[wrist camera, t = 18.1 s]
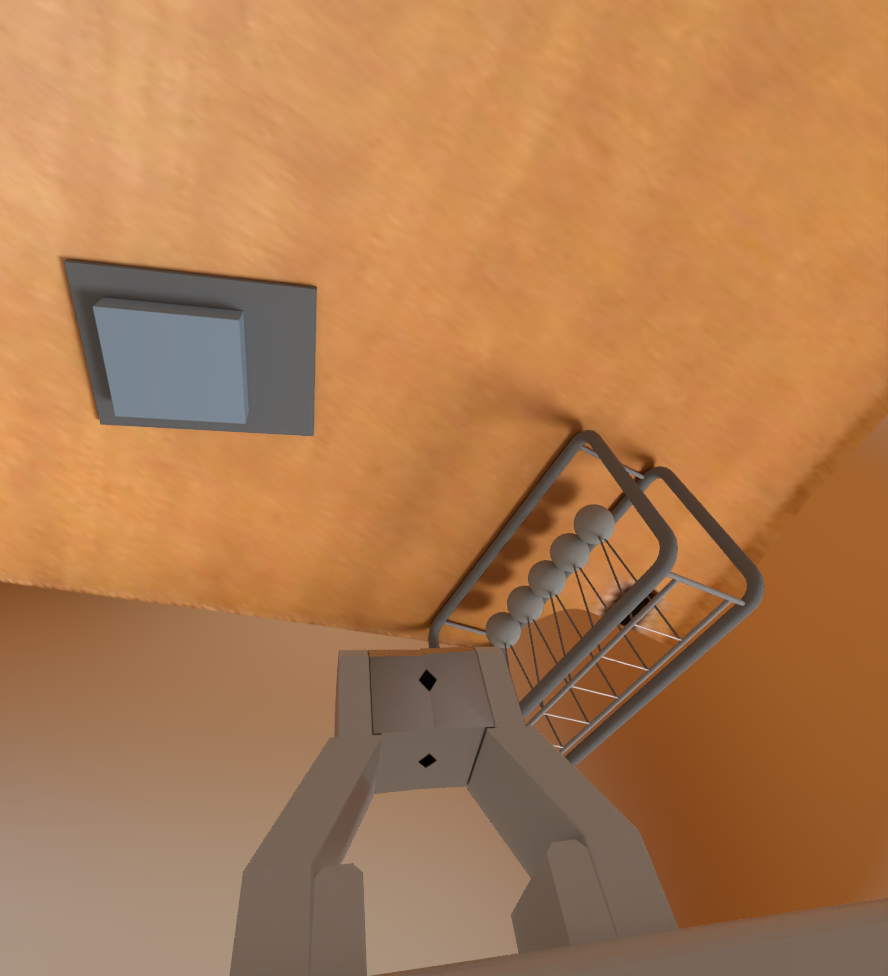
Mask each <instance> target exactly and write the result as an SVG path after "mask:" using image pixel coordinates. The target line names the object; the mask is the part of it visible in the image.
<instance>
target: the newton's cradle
mask: <svg viewBox="0 0 888 976" xmlns="http://www.w3.org/2000/svg"><path fill="white" fill-rule="evenodd" d="M586 443H589V444H590V445H591V447H592V448H593V450H594V451H595V452H594V451H592V450H590V449H588V448H586V447H584V446H583V445H584V444H586ZM579 449H580V450H582V451H584V452H586V453H588V454H590V455H593V456H595V457H597V458H599V459H601V461H602V462H603V464H604V465H605V466H606V468H607V469H608V471H609V472H610V473H611V475H612V476H613V477H614V479H615V480H616V482H617V483H618V484H619V486H620V487H621V489H622V490H623V491H624V493H625V494H626V495H625V496H624V497H623V498H622V499H621V501H620V502H619V503H618V504H617V505H616V506H615V508H614V509H613V510H612V511H611V512H610V511H609V510H608V509H606V508H605V507H603V506H600V505H595V504H594V505H587V506H585V507H583V508H582V509H580V510H579V511H578V513H577V514H576V516H575V519H574V529H575V532H576V534H577V535H576V534H572V533H566V534H562V535H560V536H558V537H557V538H556V539H555V540H554V542H553V543H552V545H551V549H550V556H551V559H552V561H548V560H544V561H540V562H538V563H536V564H535V565H534V566H533V567H532V568H531V569H530V571H529V574H528V583H529V586H520V587H517V588H515V589H514V590H513V591H512V592H511V593H510V595H509V597H508V600H507V607H508V610H509V613H510V614H509V613H506V612H499V613H496V614H494V615H493V616H491V617H490V618H489V620H488V621H487V624H486V632H484V631H481V630H477V629H473V628H470V627H466V626H463V625H459V624H455V623H452V622H448V621H446V620H447V619H448V617H449V616H450V615H451V613H452V612H453V611H454V610H455V608H456V607H457V606H458V604H459V603H460V602H461V601H462V599H463V598H464V597H465V595H466V594H467V593H468V592H469V590H470V589H471V588H472V586H473V585H474V584H475V583H476V581H477V580H478V579H479V577H480V576H481V575H482V574H483V572H484V571H485V570H486V568H487V567H488V566H489V565H490V563H491V562H492V561H493V559H494V558H495V557H496V556H497V554H498V553H499V552H500V550H501V549H502V548H503V547H504V545H505V544H506V543H507V541H508V540H509V539H510V538H511V536H512V535H513V534H514V533H515V531H516V530H517V529H518V527H519V526H520V525H521V524H522V522H523V521H524V520H525V518H526V517H527V516H528V515H529V513H530V512H531V511H532V509H533V508H534V507H535V506H536V504H537V503H538V502H539V500H540V499H541V498H542V497H543V495H544V494H545V493H546V491H547V490H548V489H549V488H550V486H551V485H552V484H553V482H554V481H555V480H556V479H557V477H558V476H559V475H560V473H561V472H562V471H563V470H564V468H565V467H566V466H567V464H568V463H569V462H570V461H571V459H572V458H573V457H574V455H575V454H576V453H577V452H578V450H579ZM629 473H630V474H632V475H634V476H636V477H638V478H640V479H639V480H638V481H637V482H635V481H634V480H633V478H632V477H631V476H630V475H629ZM658 478H662V479H663V480H664V481H665V483H666V484H667V485H668V486H669V487H670V489H671V490H672V491H673V492H674V493H675V495H676V496H677V497H678V498H679V499H680V500H681V502H682V503H683V504H684V505H685V506H686V508H687V509H688V510H689V511H690V512H691V514H692V515H693V516H694V517H695V518H696V520H697V521H698V522H699V523H700V524H701V525H702V527H703V528H704V529H705V530H706V531H707V533H708V534H709V535H710V536H711V537H712V539H713V540H714V541H715V542H716V543H717V545H718V546H719V547H720V548H721V549H722V550H723V552H724V553H725V554H726V555H727V556H728V558H729V559H730V560H731V561H732V562H733V564H734V565H735V566H736V567H737V568H738V569H739V571H740V572H741V573H742V574H743V575H744V577H745V579H746V582H747V590H746V593H745V595H744V596H743V597H742V599H738V598H736V597H733V596H730V595H728V594H725V593H723V592H720V591H718V590H715V589H713V588H710V587H708V586H705V585H703V584H700V583H698V582H695V581H693V580H690V579H687V578H685V577H682V576H680V575H677V574H675V573H672V572H670V571H671V570H672V568H673V566H674V564H675V561H676V559H677V552H678V546H677V539H676V537H675V535H674V533H673V531H672V530H671V528H670V527H669V526H668V524H667V523H666V522H665V520H664V519H663V518H662V516H661V515H660V514H659V513H658V511H657V510H656V509H655V507H654V506H653V505H652V503H651V502H650V501H649V499H648V498H647V497H646V495H645V494H644V493H643V492H644V491H645V490H646V488H647V487H648V486H649V485H650V484H651V483H652V482H653V481H654V480H656V479H658ZM632 504H633V505H634V507H635V508H636V510H637V511H638V512H639V514H640V515H641V517H642V518H643V519H644V521H645V522H646V524H647V525H648V526H649V528H650V529H651V531H652V532H653V533H654V535H655V536H656V538H657V539H658V541H659V544H660V551H659V555H658V558H657V560H656V561H655V563H654V564H653V565H652V566H651V567H650V568H649V569H648V570H647V571H646V573H645V574H644V575H643V576H642V577H641V578H640V579H639V580H638V581H637V580H636V578H635V577H634V576H633V574H632V573H631V572H630V570H629V569H628V568H627V566H626V565H625V564H624V562H623V561H622V560H621V558H620V557H619V556H618V554H617V553H616V552H615V550H614V549H613V548H612V546H611V545H610V544H609V542H608V541H607V540H608V539H609V538H610V537H611V535H612V534H613V532H614V528H615V524H616V522H617V521H618V520H619V519H620V518H621V517H622V516H623V514H624V513H625V512H626V511H627V510H628V509H629V508H630V507H631V505H632ZM605 541H606V543H607V544H608V545H609V547H610V548H611V549H612V551H613V552H614V553H615V555H616V556H617V557H618V559H619V560H620V561H621V563H622V564H623V565H624V567H625V568H626V569H627V571H628V572H629V573H630V575H631V576H632V577H633V579H634V580H635V582H636V583H635V584H634V585H633V586H632V587H631V588H630V589H629V590H628V591H627V592H626V593H625V594H624V595H623V592H622V590H621V587H620V585H619V582H618V580H617V577H616V575H615V572H614V570H613V567H612V565H611V562H610V560H609V557H608V555H607V553H606V550H605V548H604V545H603V542H605ZM600 543H601V545H602V547H603V550H604V552H605V555H606V557H607V560H608V562H609V565H610V568H611V570H612V573H613V575H614V578H615V580H616V583H617V585H618V588H619V590H620V593H621V595H622V597H621V598H620V599H619V600H618V601H617V602H616V603H615V604H614V605H613V607H612V608H611V609H610V610H608V608H607V607H606V605H605V604H604V602H603V601H602V599H601V598H600V596H599V594H598V593H597V591H596V590H595V588H594V587H593V585H592V584H591V582H590V581H589V579H588V578H587V576H586V575H585V573H584V572H583V570H582V569H581V568H583V567H584V566H585V565H586V563H587V562H588V559H589V553H590V552H591V551H592V550H593V548H594V547H595V546H596V545H597V544H600ZM578 570H581V572H582V573H583V575H584V577H585V578H586V580H587V581H588V583H589V584H590V586H591V587H592V589H593V590H594V592H595V593H596V595H597V596H598V598H599V599H600V601H601V602H602V604H603V605H604V607H605V608H606V610H607V611H608V612H607V613H606V614H605V615H604V616H603V617H602V618H601V619H600V620H599V621H598V622H597V623H596V624H595V625H594V626H593V623H592V619H591V616H590V613H589V610H588V607H587V603H586V600H585V597H584V594H583V591H582V587H581V584H580V581H579V578H578V575H577V571H578ZM574 571H575V574H576V577H577V580H578V584H579V587H580V590H581V593H582V597H583V600H584V603H585V606H586V610H587V613H588V616H589V619H590V622H591V626H592V628H591V629H590V630H589V631H588V632H587V633H586V634H585V635H584V637H582V636H581V635H580V633H579V631H578V629H577V628H576V626H575V624H574V623H573V621H572V619H571V618H570V616H569V615H568V613H567V611H566V609H565V607H564V606H563V604H562V602H561V601H560V599H559V597H558V596H557V595H558V594H560V593H561V592H562V590H563V589H564V587H565V583H566V579H567V578H568V577H569V576H570V574H571V573H572V572H574ZM666 576H667V577H669V578H672V580H671V581H670V582H669V583H668V584H667V585H666V586H665V587H664V588H663V589H662V590H661V591H660V592H659V593H658V594H657V595H656V596H655V597H654V598H653V599H652V600H651V598H650V597H649V596H648V594H649V593H650V592H651V591H652V590H653V589H654V588H655V587H656V586H657V585H658V584H659V583H660V582H661V581H662V580H663V579H664V578H665V577H666ZM679 581H680V582H682V583H685V584H687V585H690V586H693V587H695V588H698V589H700V590H703V591H705V592H708V593H711V594H713V595H716V596H718V597H721V598H723V599H725V600H724V601H723V602H722V603H721V604H720V605H719V606H718V607H716V608H715V609H714V610H713V611H712V612H711V613H710V614H709V615H708V616H707V617H705V618H704V619H703V620H702V621H701V622H700V623H699V624H698V625H697V626H696V627H694V628H693V629H692V630H691V631H690V632H689V633H688V634H687V635H686V636H685V637H683V638H682V639H681V638H680V637H679V636H678V635H677V633H676V632H675V631H674V629H673V628H672V626H671V625H670V624H669V622H668V621H667V620H666V618H665V617H664V616H663V614H662V613H661V612H660V610H659V609H658V608H657V606H656V604H657V603H658V602H659V601H660V600H661V599H662V598H663V597H664V596H665V595H666V594H667V593H668V592H669V591H670V590H671V589H672V588H673V587H674V586H675V585H676V584H677V583H678V582H679ZM763 595H764V581H763V577H762V574H761V573H760V571H759V570H758V568H757V567H756V566H755V564H754V563H753V562H752V561H751V560H750V559H749V558H748V557H747V555H746V554H745V553H744V552H743V551H742V550H741V549H740V548H739V546H738V545H737V544H736V543H735V542H734V541H733V540H732V538H731V537H730V536H729V535H728V534H727V533H726V532H725V531H724V529H723V528H722V527H721V526H720V525H719V524H718V523H717V521H716V520H715V519H714V518H713V517H712V516H711V515H710V514H709V512H708V511H707V510H706V509H705V508H704V507H703V506H702V505H701V503H700V502H699V501H698V500H697V499H696V498H695V497H694V495H693V494H692V493H691V492H690V491H689V490H688V489H687V488H686V486H685V485H684V484H683V483H682V482H681V481H680V480H679V478H678V477H677V476H676V475H675V474H674V473H673V472H672V471H671V470H670V469H668V468H666V467H661V466H660V467H654V468H652V469H650V470H648V471H647V472H646V473H644V474H643V475H642V474H640V473H637V472H635V471H633V470H631V469H629V468H627V467H625V466H623V465H622V464H621V463H620V461H619V460H618V459H617V458H616V456H615V455H614V454H613V452H612V451H611V450H610V448H609V447H608V446H607V444H606V443H605V442H604V440H603V439H602V438H601V437H600V435H599V434H597V433H596V432H595V431H591V430H585V431H582V432H580V433H578V434H577V435H576V436H574V437H573V438H572V440H571V441H570V442H569V443H568V444H567V446H566V447H565V448H564V450H563V451H562V452H561V454H560V455H559V456H558V458H557V459H556V460H555V462H554V463H553V464H552V465H551V467H550V468H549V469H548V471H547V472H546V473H545V475H544V476H543V477H542V479H541V480H540V481H539V483H538V484H537V485H536V486H535V488H534V489H533V490H532V492H531V493H530V494H529V496H528V497H527V498H526V500H525V501H524V502H523V503H522V505H521V506H520V507H519V509H518V510H517V511H516V513H515V514H514V515H513V517H512V518H511V519H510V521H509V522H508V523H507V524H506V526H505V527H504V528H503V530H502V531H501V532H500V534H499V535H498V536H497V538H496V539H495V540H494V542H493V543H492V544H491V545H490V547H489V548H488V549H487V551H486V552H485V553H484V555H483V556H482V557H481V559H480V560H479V561H478V563H477V564H476V565H475V566H474V568H473V569H472V570H471V572H470V573H469V574H468V576H467V577H466V578H465V580H464V581H463V582H462V583H461V585H460V586H459V587H458V589H457V590H456V591H455V593H454V594H453V595H452V597H451V598H450V599H449V601H448V602H447V603H446V604H445V606H444V607H443V608H442V610H441V611H440V612H439V614H438V615H437V616H436V618H435V619H434V621H433V623H432V625H431V627H430V631H429V638H428V641H429V648H440V647H439V640H438V638H439V632H440V629H441V627H442V625H443V624H446V625H449V626H453V627H457V628H460V629H464V630H468V631H471V632H475V633H478V634H482V635H486V636H487V638H488V640H489V641H490V642H491V643H492V644H493V645H494V646H498V647H500V648H501V649H502V651H503V653H504V656H505V659H506V663H507V666H508V669H509V663H508V656H507V648H509V647H511V649H512V651H513V653H514V655H515V656H516V653H515V651H514V649H513V647H512V645H514V644H515V643H516V642H517V641H518V639H519V637H520V633H521V630H522V629H523V628H524V627H525V625H526V624H527V623H528V626H529V633H530V639H531V644H532V651H533V656H534V662H535V668H536V674H537V680H538V684H537V685H536V686H535V687H534V688H533V687H532V685H531V683H530V681H529V679H528V677H527V675H526V673H525V671H524V669H523V667H522V665H521V663H520V661H519V659H518V658H517V656H516V659H517V661H518V662H519V664H520V666H521V668H522V670H523V672H524V674H525V676H526V678H527V680H528V682H529V684H530V686H531V688H532V690H531V691H530V692H529V693H528V694H527V695H526V696H525V697H524V698H523V699H522V700H521V701H520V702H519V701H518V703H519V706H520V709H521V713H522V716H523V719H524V718H525V717H526V716H527V715H528V714H529V713H530V712H531V711H532V710H533V709H534V708H535V707H536V706H537V705H538V704H540V706H541V708H542V709H541V710H540V711H539V712H538V713H537V714H536V715H535V716H534V717H533V718H532V719H531V720H530V721H529V722H528V723H527V724H525V726H532V725H533V724H534V723H535V722H536V721H537V720H538V719H539V718H540V717H541V716H542V715H543V714H545V716H546V718H547V720H548V722H549V724H550V726H551V728H552V730H553V732H554V734H555V735H556V738H557V740H558V742H559V744H560V746H555V745H553V746H555V747H561V749H560V750H559V752H560V753H561V754H563V753H564V752H565V751H566V750H568V749H569V748H570V747H571V746H572V745H573V744H574V743H575V742H576V741H578V740H579V739H580V738H581V737H582V736H583V735H584V734H585V733H586V732H588V731H589V730H590V729H591V728H592V727H593V726H594V725H595V724H596V723H598V722H599V721H600V720H601V719H602V718H603V717H604V716H605V715H606V714H608V713H609V712H610V711H611V710H612V709H613V708H614V707H615V706H616V705H617V704H619V703H620V702H621V701H622V700H623V699H624V698H625V697H626V696H628V695H629V694H630V693H631V692H632V691H633V690H634V689H635V688H636V687H638V686H639V685H640V684H641V683H642V682H643V681H644V680H645V679H646V678H648V677H649V676H650V675H651V674H652V673H653V672H654V671H655V670H656V669H658V668H659V666H661V665H662V664H663V663H664V662H665V661H666V660H668V659H669V658H670V657H671V656H672V655H673V654H674V653H675V652H676V651H678V650H679V649H680V648H681V647H682V646H683V645H684V644H685V643H686V642H688V641H689V640H690V639H691V638H692V637H693V636H694V635H695V634H696V633H698V632H699V631H700V630H701V629H702V628H703V627H704V626H705V625H706V624H708V623H709V622H710V621H711V620H712V619H713V618H714V617H715V616H716V615H718V614H719V613H720V612H721V611H722V610H723V609H724V608H725V607H726V606H727V605H729V604H730V603H731V602H734V603H736V604H735V605H734V606H733V607H732V608H731V609H729V610H728V611H727V612H726V613H725V614H724V615H723V616H722V617H721V618H719V619H718V620H717V621H716V622H715V623H714V624H713V625H712V626H710V628H708V629H707V630H706V631H705V632H704V633H703V634H701V635H700V636H699V637H698V638H697V639H696V640H695V641H694V642H693V643H691V644H690V645H689V646H688V647H687V648H686V649H685V650H684V651H683V652H681V653H680V654H679V655H678V656H677V657H676V658H675V659H674V660H672V661H671V662H670V663H669V664H668V665H667V666H666V667H665V668H664V669H662V670H661V671H660V672H659V673H658V674H657V675H656V676H655V677H653V678H652V679H651V680H650V681H649V682H648V683H647V684H646V685H644V686H643V687H642V688H641V689H640V690H639V691H638V692H637V693H635V694H634V695H633V696H632V697H631V698H630V699H629V700H628V701H627V702H625V703H624V704H623V705H622V706H621V707H620V708H619V709H618V710H616V711H615V712H614V713H613V714H612V715H611V716H610V717H609V718H608V719H606V720H605V721H604V722H603V723H602V724H601V725H600V726H599V727H597V728H596V729H595V730H594V731H593V732H592V733H591V734H590V735H588V736H587V737H586V738H585V739H584V740H583V741H582V742H581V743H580V744H578V745H577V746H576V747H575V748H574V749H573V750H572V751H571V752H569V753H568V754H567V755H566V756H565V758H566V759H567V760H568V761H569V762H570V763H571V764H572V765H573V766H576V765H577V764H578V763H579V762H580V761H581V760H582V759H584V758H585V757H586V756H587V755H588V754H589V753H590V752H592V751H593V750H594V749H595V748H596V747H597V746H599V745H600V744H601V743H602V742H603V741H604V740H606V739H607V738H608V737H609V736H610V735H611V734H612V733H614V732H615V731H616V730H617V729H618V728H619V727H620V726H622V725H623V724H624V723H625V722H626V721H627V720H629V719H630V718H631V717H632V716H633V715H634V714H635V713H637V712H638V711H639V710H640V709H641V708H642V707H643V706H645V705H646V704H647V703H648V702H649V701H650V700H652V699H653V698H654V697H655V696H656V695H657V694H658V693H660V692H661V691H662V690H663V689H664V688H665V687H666V686H668V685H669V684H670V683H671V682H672V681H673V680H675V679H676V678H677V677H678V676H679V675H680V674H681V673H682V672H684V671H685V670H686V669H687V668H688V667H689V666H691V665H692V664H693V663H694V662H695V661H696V660H698V659H699V658H700V657H701V656H702V655H703V654H704V653H706V652H707V651H708V650H709V649H710V648H711V647H712V646H714V645H715V644H716V643H717V642H718V641H719V640H721V639H722V638H723V637H724V636H725V635H726V634H727V633H729V632H730V631H731V630H732V629H733V628H734V627H736V625H738V624H739V623H740V622H741V621H742V620H744V619H745V618H746V617H747V616H748V615H749V614H750V613H752V612H753V611H754V610H755V608H756V607H757V606H758V605H759V604H760V602H761V599H762V597H763ZM555 596H556V597H557V599H558V601H559V602H560V604H561V606H562V607H563V609H564V611H565V612H566V614H567V616H568V617H569V619H570V621H571V622H572V624H573V626H574V628H575V629H576V631H577V633H578V634H579V636H580V638H581V639H580V641H579V642H578V643H577V644H576V645H575V646H574V647H573V648H572V649H571V650H570V651H569V652H568V653H567V654H566V655H565V651H564V646H563V642H562V638H561V633H560V629H559V625H558V621H557V616H556V612H555V608H554V604H553V599H552V597H555ZM646 596H647V598H648V599H649V600H650V602H649V603H648V604H647V605H646V606H645V607H644V608H643V609H642V610H641V611H640V612H639V613H638V614H637V615H636V616H635V617H634V618H633V617H632V614H631V611H632V610H633V609H634V608H635V607H636V606H637V605H638V604H639V603H640V602H641V601H642V600H643V599H644V598H645V597H646ZM549 598H551V602H552V607H553V611H554V615H555V620H556V624H557V628H558V633H559V636H560V641H561V645H562V650H563V654H564V657H563V658H562V659H561V660H560V661H559V662H558V663H557V661H556V659H555V657H554V656H553V654H552V652H551V650H550V648H549V646H548V645H547V642H546V641H545V639H544V637H543V635H542V633H541V631H540V629H539V628H538V626H537V624H536V622H535V620H536V619H537V618H538V617H539V616H540V615H541V613H542V611H543V607H544V604H545V603H546V602H547V600H548V599H549ZM652 607H655V608H656V610H657V611H658V612H659V614H660V615H661V616H662V618H663V619H664V620H665V622H666V623H667V625H668V626H669V627H670V629H671V630H672V631H673V633H674V634H675V635H676V637H677V638H675V637H672V636H669V635H666V634H663V633H660V632H657V631H654V630H651V629H648V628H645V627H642V626H639V625H636V623H637V622H638V621H639V620H640V619H641V618H642V617H643V616H644V615H645V614H646V613H647V612H648V611H649V610H650V609H651V608H652ZM628 614H629V615H630V618H631V621H630V622H629V623H628V624H627V625H626V626H625V627H624V628H623V629H621V628H620V626H619V625H618V624H619V623H620V622H621V621H622V620H623V619H624V618H625V617H626V616H627V615H628ZM532 621H534V623H535V625H536V627H537V629H538V631H539V633H540V635H541V636H542V638H543V640H544V642H545V644H546V646H547V648H548V650H549V651H550V653H551V655H552V657H553V659H554V661H555V663H556V666H554V667H553V668H552V669H551V670H550V671H549V672H548V674H547V675H546V676H545V677H544V678H543V679H542V680H541V681H539V675H538V670H537V664H536V658H535V653H534V646H533V642H532V635H531V629H530V623H529V622H532ZM634 625H635V626H638V627H641V628H644V629H647V630H650V631H653V632H656V633H659V634H662V635H665V636H668V637H671V638H674V639H677V640H680V641H679V642H678V643H677V644H676V645H675V646H674V647H672V648H671V649H670V650H669V651H668V652H667V653H666V654H665V655H664V656H663V657H662V658H660V659H659V660H658V661H657V662H656V663H655V664H654V665H653V666H652V667H650V668H649V669H648V668H647V667H646V665H645V664H644V662H643V661H642V659H641V658H640V656H639V655H638V653H637V652H636V650H635V649H634V647H633V646H632V644H631V643H630V641H629V640H628V638H627V637H626V635H625V634H626V633H627V632H628V631H629V630H630V629H631V628H632V627H633V626H634ZM616 626H618V628H619V629H620V632H619V633H618V634H617V635H616V636H615V637H614V638H613V639H612V640H611V641H610V642H609V643H608V644H607V645H606V646H605V647H604V648H603V649H602V650H601V649H600V645H599V643H600V642H601V641H602V640H603V639H604V638H605V637H606V636H607V635H608V634H609V633H610V632H611V631H612V630H613V629H614V628H615V627H616ZM623 636H624V637H625V638H626V640H627V641H628V643H629V644H630V646H631V648H632V649H633V651H634V652H635V653H636V655H637V657H638V658H639V660H640V661H641V663H642V664H643V666H644V667H645V668H642V667H638V666H635V665H631V664H628V663H624V662H620V661H617V660H613V659H610V658H607V657H603V655H605V654H606V653H607V652H608V651H609V650H610V649H611V648H612V647H613V646H614V645H615V644H616V643H617V642H618V641H619V640H620V639H621V638H622V637H623ZM597 645H598V649H599V653H598V654H597V655H596V656H595V657H594V656H593V655H592V653H591V651H592V650H593V649H594V648H595V647H596V646H597ZM589 653H590V655H591V656H592V660H591V661H589V662H588V663H587V664H586V665H585V667H583V668H582V669H581V670H580V671H579V672H578V674H576V675H575V676H574V677H573V678H572V679H571V676H570V672H571V671H572V670H573V669H574V668H575V667H576V666H577V665H578V664H579V663H580V662H581V661H582V660H583V659H584V658H585V657H586V656H587V655H588V654H589ZM601 657H603V658H606V659H609V660H613V661H616V662H620V663H623V664H627V665H630V666H634V667H638V668H641V669H644V670H647V671H646V672H645V673H644V674H643V675H642V676H641V677H640V678H638V679H637V680H636V681H635V682H634V683H633V684H632V685H631V686H630V687H628V688H627V689H626V690H625V691H624V692H623V693H622V694H621V695H620V696H619V697H617V695H616V693H615V692H614V690H613V688H612V687H611V685H610V683H609V682H608V680H607V678H606V676H605V675H604V673H603V671H602V670H601V668H600V666H599V665H598V663H597V661H598V660H599V659H600V658H601ZM595 663H596V665H597V667H598V668H599V670H600V672H601V673H602V675H603V677H604V678H605V680H606V682H607V683H608V685H609V687H610V689H611V690H612V692H613V694H614V695H615V696H611V695H607V694H603V693H599V692H595V691H591V690H587V689H583V690H586V691H590V692H594V693H598V694H602V695H606V696H610V697H614V698H616V699H615V700H614V701H613V702H612V703H611V704H610V705H609V706H608V707H606V708H605V709H604V710H603V711H602V712H601V713H600V714H599V715H598V716H597V717H596V718H594V719H593V720H592V721H591V722H589V721H588V719H587V717H586V716H585V714H584V712H583V710H582V708H581V706H580V704H579V702H578V701H577V699H576V697H575V695H574V693H573V691H572V689H571V687H574V688H578V689H582V688H579V687H575V686H573V685H574V684H575V683H576V682H577V681H578V680H579V679H580V678H581V677H582V676H583V675H584V674H585V673H586V672H587V671H588V670H589V669H590V668H591V667H592V666H593V665H594V664H595ZM509 673H510V670H509ZM567 675H568V676H569V680H570V681H569V682H567V680H566V678H565V677H566V676H567ZM510 676H511V673H510ZM511 679H512V677H511ZM563 679H564V680H565V682H566V685H565V686H564V687H563V688H562V689H561V690H560V691H559V692H558V693H557V694H556V695H555V696H554V697H553V698H552V699H551V700H550V701H549V702H548V703H547V704H546V705H545V706H544V705H543V699H544V698H545V697H546V696H547V695H548V694H549V693H550V692H551V691H552V690H553V689H554V688H555V687H556V686H557V685H558V684H559V683H560V682H561V681H562V680H563ZM512 683H513V680H512ZM513 686H514V684H513ZM514 689H515V687H514ZM569 689H570V691H571V693H572V695H573V697H574V699H575V700H576V702H577V704H578V706H579V708H580V710H581V712H582V714H583V716H584V717H585V719H586V721H587V722H583V721H578V720H574V719H569V718H565V717H560V716H555V715H550V714H546V711H547V710H548V709H549V708H550V707H551V706H552V705H553V704H554V703H555V702H556V701H557V700H558V699H560V698H561V697H562V695H564V694H565V693H566V692H567V691H568V690H569ZM515 693H516V690H515ZM516 696H517V694H516ZM517 699H518V697H517ZM547 715H550V716H554V717H560V718H564V719H568V720H573V721H577V722H582V723H587V724H588V725H587V726H586V727H584V728H583V729H582V730H581V731H580V732H579V733H578V734H577V735H576V736H575V737H574V738H572V739H571V740H570V741H569V742H568V743H567V744H566V745H565V746H564V747H563V746H562V744H561V742H560V740H559V738H558V736H557V734H556V732H555V730H554V728H553V726H552V724H551V722H550V720H549V718H548V716H547ZM524 723H525V721H524Z"/></svg>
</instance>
